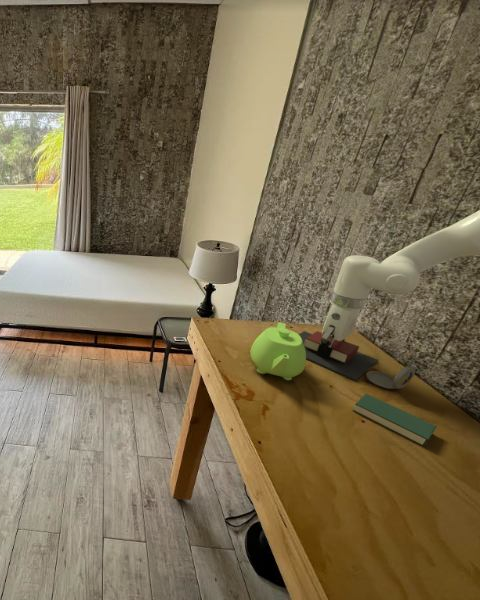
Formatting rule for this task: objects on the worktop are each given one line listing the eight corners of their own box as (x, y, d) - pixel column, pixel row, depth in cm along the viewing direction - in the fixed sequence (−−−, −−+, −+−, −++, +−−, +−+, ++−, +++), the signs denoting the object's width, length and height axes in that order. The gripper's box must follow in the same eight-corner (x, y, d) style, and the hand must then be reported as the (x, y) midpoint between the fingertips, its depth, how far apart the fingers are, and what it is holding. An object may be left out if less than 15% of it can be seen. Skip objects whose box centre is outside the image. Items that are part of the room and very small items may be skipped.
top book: (355, 355, 94) (359, 346, 92) (345, 363, 90) (348, 355, 89) (314, 338, 102) (317, 330, 101) (303, 346, 98) (306, 338, 97)
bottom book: (432, 433, 69) (437, 426, 69) (424, 447, 66) (428, 439, 65) (362, 400, 79) (365, 393, 78) (352, 410, 76) (355, 403, 75)
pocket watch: (364, 371, 89) (378, 341, 85) (405, 382, 85) (421, 351, 80) (366, 387, 83) (381, 355, 79) (410, 400, 79) (428, 367, 74)
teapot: (304, 397, 80) (319, 356, 75) (246, 381, 86) (256, 342, 81) (298, 355, 96) (310, 319, 91) (249, 345, 102) (257, 310, 97)
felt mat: (377, 361, 93) (378, 359, 93) (355, 381, 85) (356, 379, 85) (303, 332, 108) (304, 330, 108) (279, 347, 100) (279, 345, 100)
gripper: (351, 313, 82) (329, 368, 89) (376, 296, 90) (355, 348, 98) (318, 303, 87) (301, 356, 95) (344, 288, 96) (327, 338, 103)
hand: (328, 351), depth 96 cm, fingers closed on top book, 7 cm apart
